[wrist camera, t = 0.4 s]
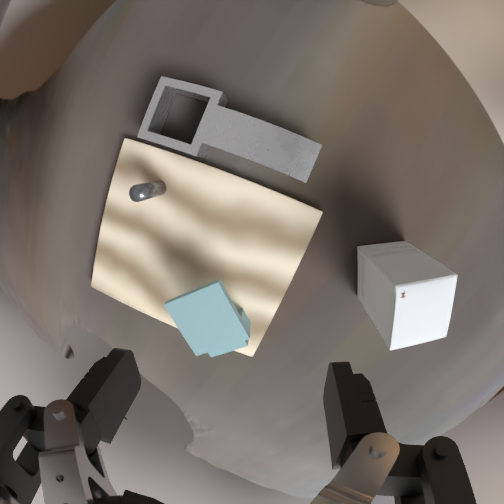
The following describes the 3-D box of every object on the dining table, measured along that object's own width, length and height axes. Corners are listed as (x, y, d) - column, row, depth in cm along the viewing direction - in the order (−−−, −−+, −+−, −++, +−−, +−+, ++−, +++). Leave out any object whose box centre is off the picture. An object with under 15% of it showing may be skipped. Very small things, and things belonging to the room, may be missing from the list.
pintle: (159, 178, 33) (131, 182, 26) (171, 182, 33) (146, 187, 26) (155, 191, 34) (127, 198, 26) (167, 196, 34) (141, 204, 27)
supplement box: (355, 297, 36) (386, 353, 24) (356, 244, 34) (394, 283, 22) (404, 290, 35) (447, 338, 23) (407, 239, 33) (459, 273, 21)
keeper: (182, 279, 37) (163, 304, 30) (228, 259, 36) (218, 282, 28) (213, 332, 39) (202, 364, 32) (258, 316, 38) (255, 348, 30)
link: (151, 139, 32) (137, 137, 28) (172, 84, 30) (161, 76, 26) (296, 193, 33) (300, 197, 29) (321, 135, 30) (327, 131, 27)
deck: (129, 138, 32) (124, 138, 31) (321, 210, 33) (322, 212, 32) (95, 283, 38) (91, 286, 37) (252, 351, 39) (252, 356, 38)
